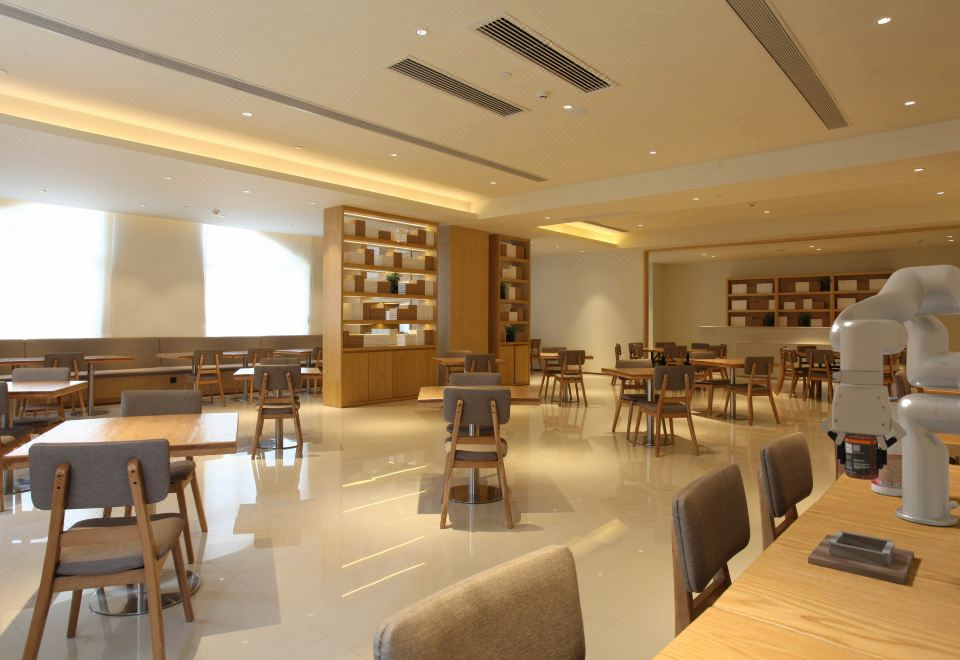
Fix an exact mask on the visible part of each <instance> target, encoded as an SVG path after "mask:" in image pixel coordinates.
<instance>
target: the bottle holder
mask: <svg viewBox="0 0 960 660" xmlns="http://www.w3.org/2000/svg"><path fill="white" fill-rule="evenodd" d="M895 543H896V542H893V541H892V540H891V539H885V538H880V537H875V536H870V535H865V534H860V533H853V532H849V531H844V530H841V531H836V532H835V533H834V535H833V534H828V533H827V534H826V535H825V536H824V537H823V539H822V540H821V541H820V542H819V544H818V545H817V546H816V547H815V548H814V549H813V550H812V551H811V553H810V554H809V555H808V556H807V563H808V564H811V565H816V566H822V567H825V568H829V569H833V570H837V571H843V572H847V573H851V574H856V575H859V576H865V577H869V578H874V579H876V580H882V581H886V582H890V583H896V584H899V585H904V584H905V583H906V582H905V581H906V579H907V576H908V574H909V571H910V568H911V566H912V563H913V561H914V558H915V551H913V550H909V549H903V548H899V547H896V545H895Z"/></svg>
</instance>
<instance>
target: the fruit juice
mask: <svg viewBox="0 0 960 660" xmlns="http://www.w3.org/2000/svg"><path fill="white" fill-rule="evenodd" d="M889 399H890V407H891V418H892V419H893V420H895V421H896V422H897V423H898V424H899V425H900V422H899V417H898V402H899V400H900V399H901V398H899V397H896V396H895V397H892V396H889ZM895 434H896V432H895V430H893V429H892V428H891V431H890V432H889V433H888V434H887V435H885V437H886V439H887V440H888V439H889V438H891V437H892V436H894V435H895ZM878 449H879V443H878ZM870 488H871V491H872V490H873V491H872V492H874V493H876V492H877V493H876V494H879V493H880V495H883V494H884V495H883V496H890V497H902V439H900V440H899V441H897V442H896V443H895V444H893V445H892V446H890V447H889V448H888V449H887V465H884V467H883V469H879V477H878V478H877V479H875V480H870Z"/></svg>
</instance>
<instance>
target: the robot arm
mask: <svg viewBox="0 0 960 660" xmlns="http://www.w3.org/2000/svg"><path fill="white" fill-rule="evenodd" d="M936 315H937V316H941V315H942V316H945V315H946V316H947V315H948V316H950V315H960V267H956V266H954V265H953V264H952V265H951V264H938V265H937V264H935V265H919V266H910V267H909V266H908V267H903V268H901V269H898V270H896V271H894V272H893V273H892V274H891V275H890V277H889V278H888V279H887V281H886V282H885V283H884V285H883V286H882V288H881V289H880V290H879V292H878V293H877V294H875V295H873V296H872V295H871V296H870V297H867V298H865V299H862V300H861V301H858V302H856V303H853V304H851V305H849V306H848V307H845V308H844V309H843V310H842V311H841V312H840V313H839V315H838V316H837V317H836V319H835V320H834V321H833V324H832V325H831V327H830V330H829V335H828V337H829V338H828V339H829V344H830V345H831V348H832V349H833V350H834V351H836V352H837V353H839V355H840V362H839V365H840V370H839V371H837V372H832V379H833V380H838V381H839V384H836V385H835V388H834V392H833V400H832V411H831V413H832V414H831V415H830V416H828V417H827V418H826V419H825V420H823V421H822V422H821V423H820V424H819V428H820V429H821V430H822V431H823V432H824V433H825V434H826V435H827V436H828V437H829V438H830V440H832V441H833V442H834V443H835V445H836V458H837V460H839V463H840V464H839V465H845V435H846V433H849V434H859V435H869V436H875V437H876V439H877V441H878V443H879V449H878V450H877V468H878V469H883V467H884V465H887V449H888V448H889V447H890V446H892V445H893V444H895V443H896V442H897V441H899V440H900V439H902V496H901V497H902V499H901V500H902V501H901V502H902V506H900V507H896V508H895V509H894V514H895V516H897V517H898V518H901V519H903V520H905V521H909V522H913V523H915V524H916V523H917V524H922V525H929V526H938V527H939V526H940V527H949V526H955V525H957V524H958V518H957V517H956V516H955V515H953V514H952V513H951V510H955V509H956V510H957V509H958V508H959V505H960V504H959V503H958V501H955V500H950V453H949V448H948V447H947V445H946V444H945V442H944V440H943V439H942V438H941V437H940V436H939V435H938V434H946V435H955V436H960V395H947V394H946V395H945V394H935V393H934V394H933V393H924V392H923V393H922V392H920V393H917V392H916V393H910V394H906V395H903V396H902V397H901V398H900V400H899V402H898V417H899V422H900V425H899V424H898V423H897V422H896V421H895V420H893V419H892V418H891V407H890V399H889V397H890V395H889V390H888V387H887V386H884V355H896V354H898V353H900V352H902V351H903V350H904V349H905V348H906V363H905V364H906V366H905V367H906V370H905V371H906V379H907V381H908V383H909V384H910V385H911V386H913V387H916V388H921V389H930V390H931V389H932V390H948V391H949V390H950V391H957V392H960V351H950V350H949V349H950V348H949V345H950V342H949V339H950V338H949V337H950V334H949V331H948V329H947V327H946V326H945V325H944V324H943V322H941V321H940V319H938V318H937V317H936ZM831 427H832V428H831ZM891 428H892V429H893V430H895V432H896V434H895V435H894V436H892V437H891V438H889V439H888V440H887V439H886V437H885V435H887V434H888V433H889V432H890V431H891Z"/></svg>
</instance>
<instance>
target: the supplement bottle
mask: <svg viewBox="0 0 960 660" xmlns="http://www.w3.org/2000/svg"><path fill="white" fill-rule="evenodd" d="M844 441H845V464H844V471H845V472H844V474H845V475H846V476H847V477H849V478H851V479H856V480H863V481H871V480H875V479H877V478H878V477H879V469H878V468H877V450H878V441H877V439H876V437H875V436H869V435H859V434H849V433H846V435H845V440H844Z"/></svg>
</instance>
